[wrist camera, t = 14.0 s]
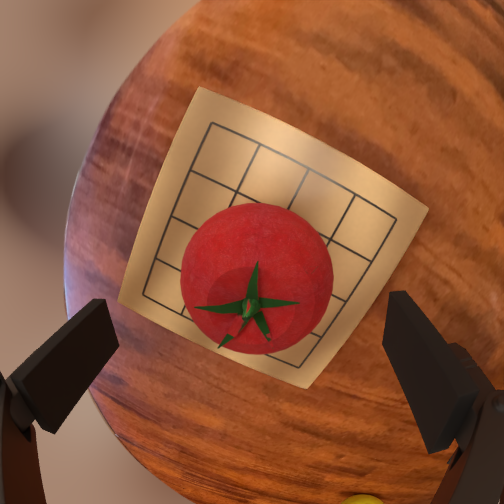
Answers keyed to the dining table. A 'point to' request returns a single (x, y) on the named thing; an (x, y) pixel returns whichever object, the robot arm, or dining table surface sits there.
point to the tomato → (256, 278)
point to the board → (275, 193)
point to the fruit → (362, 500)
